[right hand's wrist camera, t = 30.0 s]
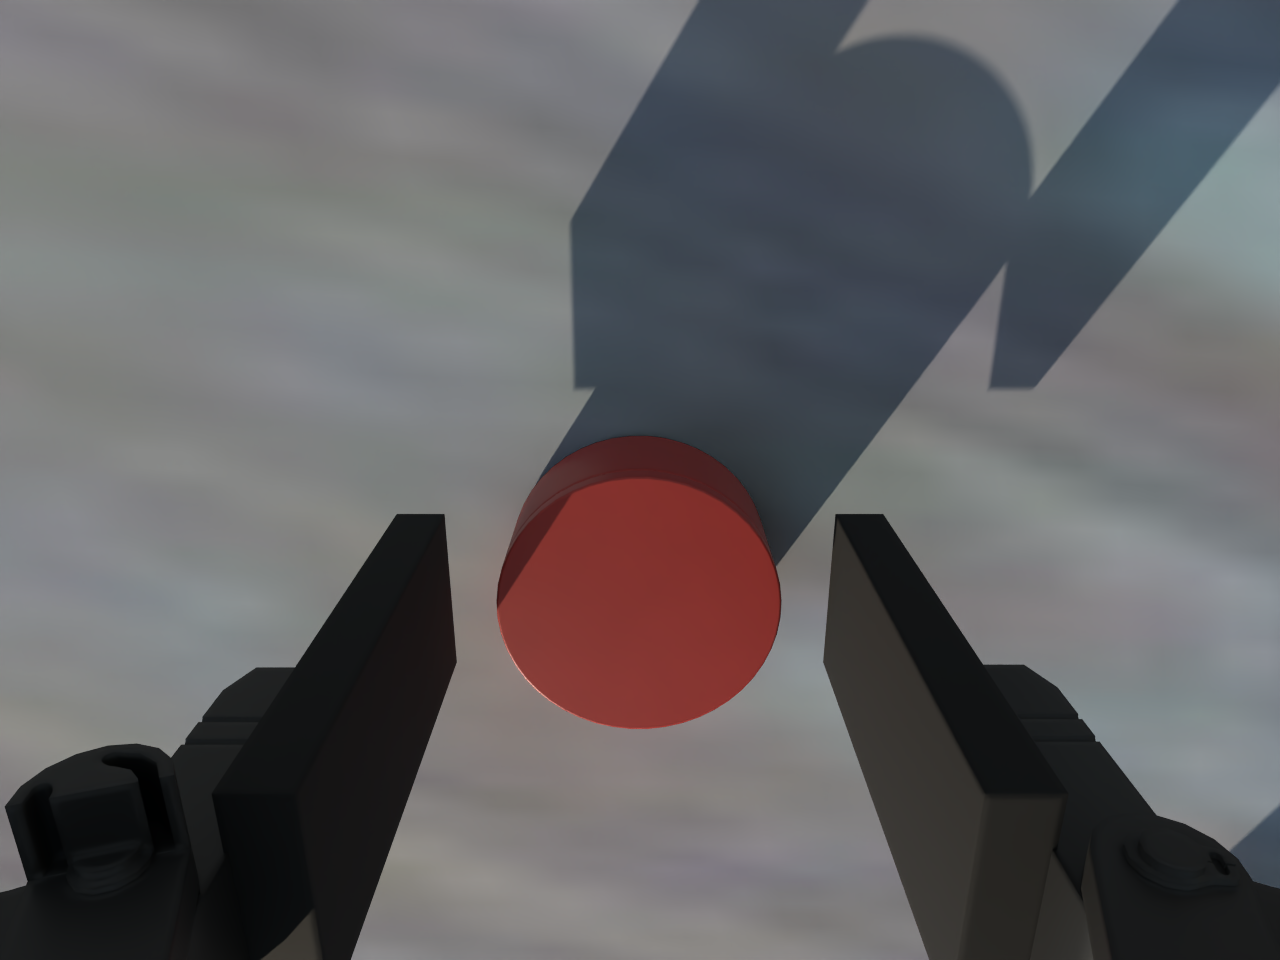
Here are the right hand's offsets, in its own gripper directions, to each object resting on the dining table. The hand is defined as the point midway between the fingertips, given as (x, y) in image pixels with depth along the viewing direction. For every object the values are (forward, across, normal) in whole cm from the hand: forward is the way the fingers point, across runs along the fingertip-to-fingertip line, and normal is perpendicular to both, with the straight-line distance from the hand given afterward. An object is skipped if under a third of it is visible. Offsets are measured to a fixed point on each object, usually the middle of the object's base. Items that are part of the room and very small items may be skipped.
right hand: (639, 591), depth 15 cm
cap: (0, 0, 0) cm, 0 cm away
